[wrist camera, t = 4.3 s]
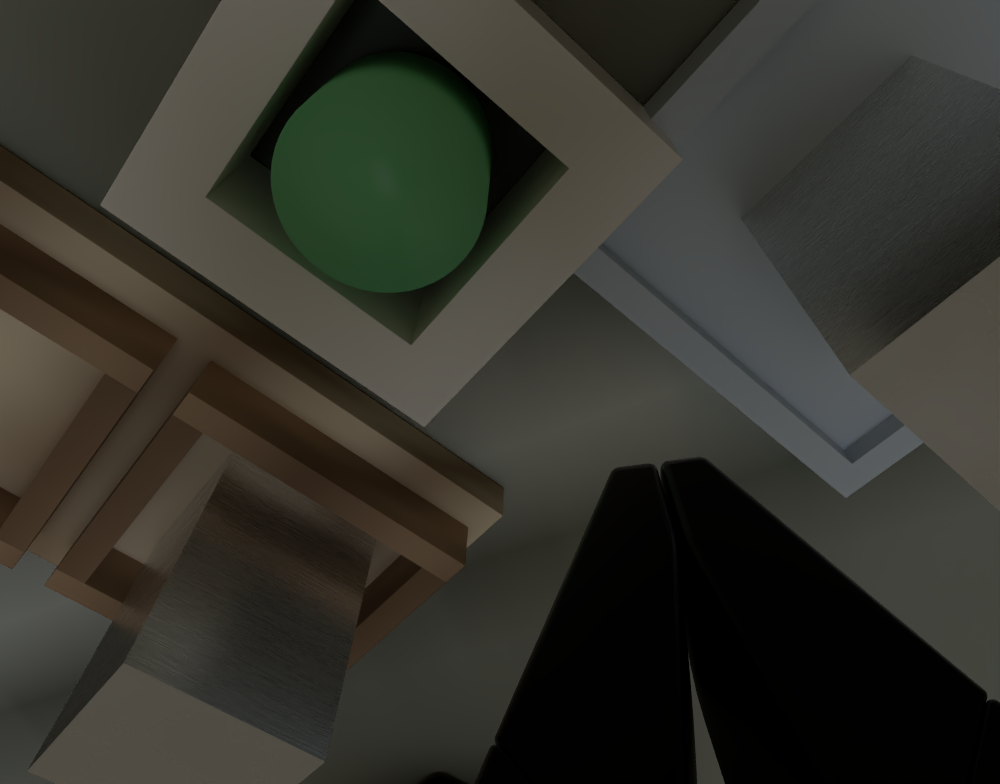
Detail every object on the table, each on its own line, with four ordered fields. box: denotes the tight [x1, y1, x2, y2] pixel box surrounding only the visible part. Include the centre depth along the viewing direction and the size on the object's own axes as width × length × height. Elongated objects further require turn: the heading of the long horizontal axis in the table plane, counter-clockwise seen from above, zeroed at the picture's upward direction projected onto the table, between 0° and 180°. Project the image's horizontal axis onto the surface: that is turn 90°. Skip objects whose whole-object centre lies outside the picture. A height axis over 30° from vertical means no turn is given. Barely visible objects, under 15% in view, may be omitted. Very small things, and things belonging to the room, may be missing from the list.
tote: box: [574, 0, 1000, 498], centre depth 18 cm, size 11×11×1 cm
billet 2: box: [741, 55, 1000, 511], centre depth 15 cm, size 4×4×7 cm
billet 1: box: [27, 451, 376, 784], centre depth 20 cm, size 4×4×7 cm
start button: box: [271, 52, 493, 293], centre depth 16 cm, size 4×4×3 cm
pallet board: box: [0, 146, 504, 671], centre depth 21 cm, size 18×10×3 cm, turn 50°
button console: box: [100, 0, 683, 427], centre depth 17 cm, size 8×8×3 cm
